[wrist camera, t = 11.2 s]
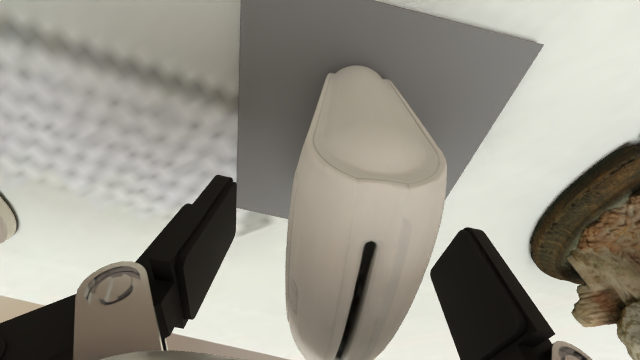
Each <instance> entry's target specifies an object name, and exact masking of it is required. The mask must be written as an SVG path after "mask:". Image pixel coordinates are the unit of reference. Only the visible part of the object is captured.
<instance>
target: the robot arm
mask: <svg viewBox="0 0 640 360" xmlns="http://www.w3.org/2000/svg"><path fill="white" fill-rule="evenodd" d="M236 201H237V183H236V182H233V179H232V178H230V177H225V176H220V175H216V176H215V177H214V178H213V180H212V181H211V182H210V183H209V185H208V186H207V187H206V188H205V189H204V191H203V192H202V193H201V194H200V196H199V197H198V198H197V199H196V201H195V202H194V203H193V204H185V205H184V206H183V207H182V208H181V209H180V211H179V212H178V213H177V214H176V215H175V216H174V218H173V219H172V220H171V221H170V222H169V223H168V225H167V226H166V227H165V228H164V229H163V230H162V232H161V233H160V234H159V235H158V236H157V237H156V239H155V240H154V241H153V242H152V243H151V244H150V246H149V247H148V248H147V249H146V250H145V251H144V253H143V254H142V255H141V256H140V257H139V259H138V260H137V261H136V262H118V263H113V264H110V265H107V266H105V267H102V268H100V269H99V270H97V271H96V272H94V273H92V274H91V275H90V276H89V277H88V278H86V279H85V280H84V281H83V282H82V284H81V285H80V287H79V288H78V290H77V294H75V295H72V296H70V297H67V298H64V299H62V300H59V301H57V302H54V303H51V304H49V305H46V306H44V307H41V308H39V309H36V310H33V311H31V312H29V313H26V314H23V315H21V316H18V317H15V318H13V319H10V320H8V321H5V322H3V323H0V360H248V359H241V358H233V357H226V356H220V355H213V354H206V353H195V352H185V351H168V348H167V344H166V339H165V338H167V337H168V336H170V334H171V333H172V331H173V329H174V327H177V328H183V329H184V327H185V325H186V323H187V321H188V319H191V320H193V319H194V318H195V316H196V314H197V312H198V310H199V308H200V306H201V304H202V302H203V300H204V298H205V296H206V294H207V292H208V290H209V288H210V286H211V284H212V282H213V280H214V278H215V276H216V274H217V272H218V270H219V267H220V265H221V263H222V261H223V259H224V257H225V255H226V253H227V251H228V249H229V247H230V245H231V243H232V241H233V239H234V236H235V232H236ZM15 231H16V220H15V217H14V214H13V213H12V211H11V209H10V208H9V206H8V205H7V204H6V202H5V201H4V200H3V199H2V197H1V196H0V243H2V242H4V241H5V240H7V239H9V238H10V237H11V236H13V235H14V234H15ZM430 276H431V280H432V282H433V285H434V288H435V291H436V293H437V296H438V299H439V302H440V304H441V307H442V310H443V313H444V315H445V318H446V321H447V324H448V326H449V329H450V332H451V335H452V337H453V340H454V343H455V346H456V348H457V351H458V354H459V357H460V360H592V359H591V358H590V357H589V356H588V355H586V354H585V353H584V352H583V351H581V350H580V349H578V348H577V347H575V346H573V345H572V344H569V343H566V342H563V341H557V342H555V343H553V344H552V343H551V342H550V340H549V338H550V337H552V336H553V335H555V333H554V331H553V330H552V329H551V327H550V326H549V324H548V323H547V321H546V320H545V319H544V317H543V316H542V314H541V313H540V311H539V310H538V309H537V307H536V306H535V304H534V303H533V301H532V300H531V299H530V297H529V296H528V294H527V293H526V291H525V290H524V289H523V287H522V286H521V284H520V283H519V281H518V280H517V279H516V277H515V276H514V274H513V273H512V271H511V270H510V268H509V267H508V266H507V264H506V263H505V261H504V260H503V258H502V257H501V256H500V254H499V253H498V251H497V250H496V248H495V247H494V246H493V244H492V243H491V241H490V240H489V238H488V237H487V236H486V234H485V233H484V232H483V231H482V230H478V229H473V228H464V229H463V230H460V231H459V232H458V234H457V235H456V236H455V238H454V239H453V240H452V242H451V243H450V245H449V246H448V247H447V249H446V250H445V251H444V253H443V254H442V255H441V257H440V258H439V259H438V261H437V262H436V264H435V265H434V266H433V268H432V269H431V272H430Z"/></svg>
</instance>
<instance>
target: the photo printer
mask: <svg viewBox="0 0 640 360" xmlns="http://www.w3.org/2000/svg"><path fill="white" fill-rule="evenodd" d="M446 178H447V164H446V159H445V157H444V155H443V153H442V151H441V150H440V149H439V147H438V146H437V145H436V143H435V142H434V140H433V138H432V137H431V136H430V134H429V133H428V131H427V130H426V129H425V127H424V126H423V124H422V123H421V122H420V120H419V119H418V117H417V116H416V115H415V113H414V112H413V110H412V109H411V108H410V106H409V105H408V103H407V102H406V101H405V99H404V98H403V96H402V95H401V94H400V92H399V91H398V90H397V88H396V87H395V86H394V84H393V83H392V82H391V81H390V80H388V79H382V78H381V76H380V75H379V74H378V73H377V72H375V71H374V70H372V69H370V68H368V67H365V66H358V65H354V66H348V67H345V68H343V69H341V70H339V71H338V72H337V73H335V74H334V73H329V74H328V75H327V77H326V80H325V83H324V86H323V89H322V92H321V95H320V98H319V101H318V104H317V107H316V110H315V113H314V116H313V119H312V122H311V125H310V128H309V131H308V134H307V137H306V140H305V143H304V145H303V148H302V151H301V155H300V158H299V162H298V165H297V168H296V171H295V176H294V181H293V187H292V195H291V204H290V211H289V220H288V232H287V247H286V276H285V277H286V310H287V319H288V322H289V324H290V329H291V333H292V336H293V339H294V341H295V343H296V345H297V347H298V349H299V351H300V352H301V354H302V355H303V356H304V358H305V359H306V360H374V359H375V358H376V357H377V356H378V355H379V354H380V353H381V352H382V351H383V350H384V349H385V347H386V346H387V345H388V343H389V342H390V341H391V340H392V338H393V337H394V335H395V333H396V332H397V330H398V329H399V327H400V325H401V323H402V322H403V320H404V318H405V316H406V314H407V313H408V311H409V309H410V307H411V305H412V302H413V300H414V298H415V295H416V293H417V291H418V289H419V286H420V284H421V282H422V279H423V276H424V273H425V271H426V268H427V266H428V263H429V260H430V257H431V254H432V251H433V248H434V245H435V241H436V238H437V234H438V231H439V227H440V223H441V218H442V213H443V209H444V201H445V193H446Z"/></svg>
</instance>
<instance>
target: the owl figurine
mask: <svg viewBox="0 0 640 360" xmlns="http://www.w3.org/2000/svg"><path fill="white" fill-rule="evenodd" d="M530 243H531V245H532V250H533V254H532V253H531V256H532V259H533V261H534V263H536V265H537V267H538V268H539V269H540V270H541V271H542V272H544V273H545V274H547V275H549V276H551V277H554V278H556V279H560V280H565V281H570V282H572V283H575V284H581V285H579V286H577V293H578V296H579V298H580V300H579V301H578V302H577V303H575V304H574V309H573V311H572V314H573V316H574V318H575V319H576V320H577V321H578V322H579V323H580V324H581V325H582V326H584V327H595V326H600V325H605V324H608V325H609V324H614V323H615V324H617V327H618V328H617V335H618V338H619V339H620V340H621V342H623V344H624V345H625V346H626V348H627V351H628V353H629V355H630V356H631V358H632V359H633V360H640V146H638V145H632V146H628V147H625V148H622V149H620V150H617V151H615V152H614V153H612V154H610V155H609V156H608V157H606V158H605V159H604V160H602V161H601V162H599V163H598V164H597V165H596V166H594V167H593V168H592V169H591V170H590V171H588V172H587V173H586V174H585V175H583V176H582V177H581V178H580V179H579V180H577V181H576V182H575V183H574V184H572V185H571V186H570V187H569V188H568V189H567V190H566V191H564V192H563V193H562V194H561V196H560V197H559V198H558V199H557V200H556V202H555V203H554V204H553V205H552V206H551V207H550V209H549V210H548V211H547V212H546V213H545V214H544V216H543V217H542V219H541V220H540V222H539V223H538V225H537V227H536V229H535V231H534V235H533V237H532V240H531V242H530Z"/></svg>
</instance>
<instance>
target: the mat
mask: <svg viewBox="0 0 640 360" xmlns="http://www.w3.org/2000/svg"><path fill="white" fill-rule="evenodd" d="M542 47H543V44H539V43H536V42H532V41H528V40H524V39H520V38H516V37H512V36H508V35H505V34H501V33H497V32H493V31H489V30H485V29H481V28H478V27H474V26H470V25H466V24H462V23H458V22H454V21H450V20H447V19H443V18H439V17H435V16H431V15H427V14H423V13H420V12H416V11H412V10H408V9H404V8H400V7H396V6H392V5H389V4H385V3H381V2H377V1H373V0H241V14H240V60H239V106H238V151H237V201H236V208H240V209H245V210H249V211H254V212H259V213H263V214H268V215H272V216H277V217H281V218H286V219H289V211H290V204H291V195H292V187H293V181H294V176H295V171H296V168H297V165H298V162H299V158H300V155H301V151H302V148H303V145H304V143H305V140H306V137H307V134H308V131H309V128H310V125H311V122H312V119H313V116H314V113H315V110H316V107H317V104H318V101H319V98H320V95H321V92H322V89H323V86H324V83H325V80H326V77H327V75H328V74H329V73H334V74H335V73H337V72H338V71H339V70H341V69H343V68H345V67H348V66H354V65H358V66H365V67H368V68H370V69H372V70H374V71H375V72H377V73H378V74H379V75H380V76H381V78H382V79H388V80H390V81H391V82H392V83H393V84H394V86H395V87H396V88H397V90H398V91H399V92H400V94H401V95H402V96H403V98H404V99H405V101H406V102H407V103H408V105H409V106H410V108H411V109H412V110H413V112H414V113H415V115H416V116H417V117H418V119H419V120H420V122H421V123H422V124H423V126H424V127H425V129H426V130H427V131H428V133H429V134H430V136H431V137H432V138H433V140H434V142H435V143H436V145H437V146H438V147H439V149H440V150H441V151H442V153H443V155H444V157H445V159H446V164H447V178H446V193H445V199H446V198H447V196H448V194H449V193H450V191H451V190H452V188H453V187H454V185H455V183H456V182H457V180H458V179H459V177H460V176H461V174H462V172H463V171H464V169H465V168H466V166H467V165H468V163H469V162H470V160H471V158H472V157H473V155H474V154H475V152H476V151H477V149H478V147H479V146H480V144H481V143H482V141H483V140H484V138H485V136H486V135H487V133H488V132H489V130H490V129H491V127H492V125H493V124H494V122H495V121H496V119H497V118H498V116H499V114H500V113H501V111H502V110H503V108H504V107H505V105H506V103H507V102H508V100H509V99H510V97H511V96H512V94H513V93H514V91H515V89H516V88H517V86H518V85H519V83H520V82H521V80H522V78H523V77H524V75H525V74H526V72H527V71H528V69H529V67H530V66H531V64H532V63H533V61H534V60H535V58H536V56H537V55H538V53H539V52H540V50H541V49H542Z"/></svg>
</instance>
